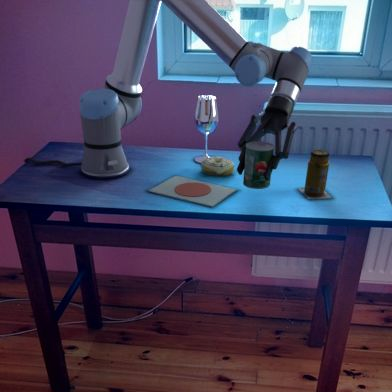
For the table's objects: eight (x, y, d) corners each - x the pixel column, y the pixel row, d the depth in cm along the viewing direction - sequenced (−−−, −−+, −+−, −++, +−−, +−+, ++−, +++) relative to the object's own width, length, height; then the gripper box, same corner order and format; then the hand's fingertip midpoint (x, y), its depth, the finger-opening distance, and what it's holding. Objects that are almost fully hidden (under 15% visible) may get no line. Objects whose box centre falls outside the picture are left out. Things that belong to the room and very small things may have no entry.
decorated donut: (222, 180, 167) (222, 168, 165) (194, 173, 172) (194, 161, 170) (239, 170, 174) (240, 159, 172) (212, 164, 179) (212, 152, 177)
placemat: (148, 191, 159) (148, 189, 159) (175, 176, 169) (175, 174, 169) (212, 207, 150) (212, 205, 150) (236, 190, 161) (236, 188, 160)
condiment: (321, 188, 163) (327, 147, 155) (331, 198, 156) (338, 157, 149) (298, 189, 162) (303, 149, 154) (308, 200, 155) (313, 158, 148)
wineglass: (203, 165, 178) (204, 101, 166) (189, 159, 183) (189, 96, 171) (221, 161, 182) (224, 97, 170) (207, 155, 187) (209, 93, 174)
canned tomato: (264, 191, 151) (268, 151, 144) (238, 186, 153) (241, 147, 147) (274, 182, 156) (278, 143, 150) (249, 177, 159) (252, 139, 152)
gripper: (318, 115, 151) (288, 189, 150) (252, 105, 159) (224, 174, 158) (314, 99, 144) (283, 176, 143) (246, 89, 152) (216, 161, 151)
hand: (252, 175), depth 150 cm, fingers closed on canned tomato, 8 cm apart
